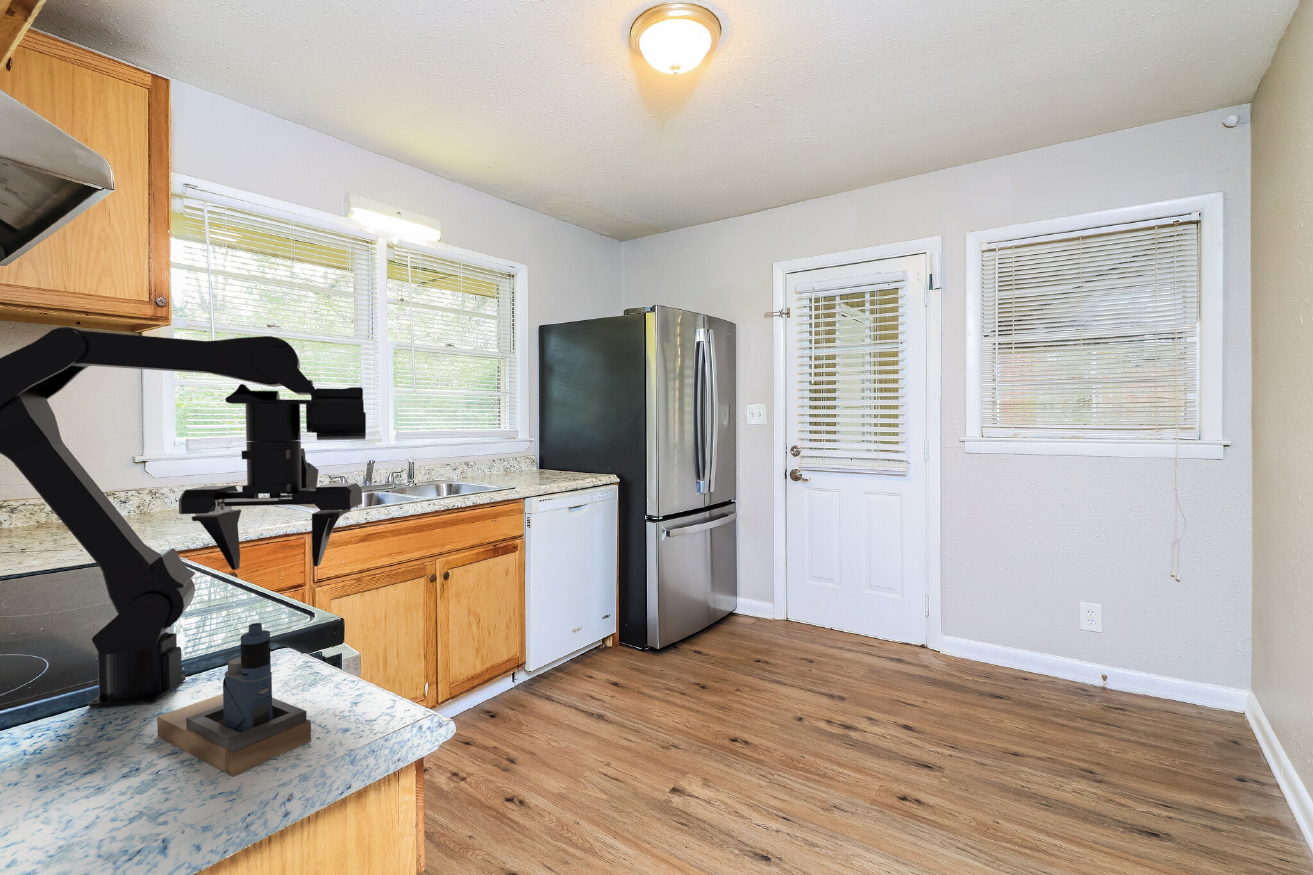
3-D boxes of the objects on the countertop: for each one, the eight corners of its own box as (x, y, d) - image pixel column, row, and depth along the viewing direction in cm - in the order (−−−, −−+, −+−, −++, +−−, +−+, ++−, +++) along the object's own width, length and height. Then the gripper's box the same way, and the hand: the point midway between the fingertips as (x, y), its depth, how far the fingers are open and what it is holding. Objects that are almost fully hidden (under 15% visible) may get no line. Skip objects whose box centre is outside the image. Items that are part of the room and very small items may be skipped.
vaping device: (251, 760, 57) (248, 630, 57) (219, 746, 60) (216, 622, 59) (279, 747, 59) (277, 622, 59) (247, 734, 62) (245, 614, 62)
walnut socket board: (157, 736, 62) (156, 706, 61) (234, 707, 68) (233, 680, 68) (232, 776, 55) (232, 742, 54) (311, 740, 61) (310, 710, 61)
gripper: (372, 438, 86) (374, 551, 87) (223, 440, 83) (226, 556, 83) (347, 441, 75) (349, 570, 76) (174, 443, 72) (177, 577, 72)
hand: (276, 567), depth 77 cm, fingers open, 9 cm apart
